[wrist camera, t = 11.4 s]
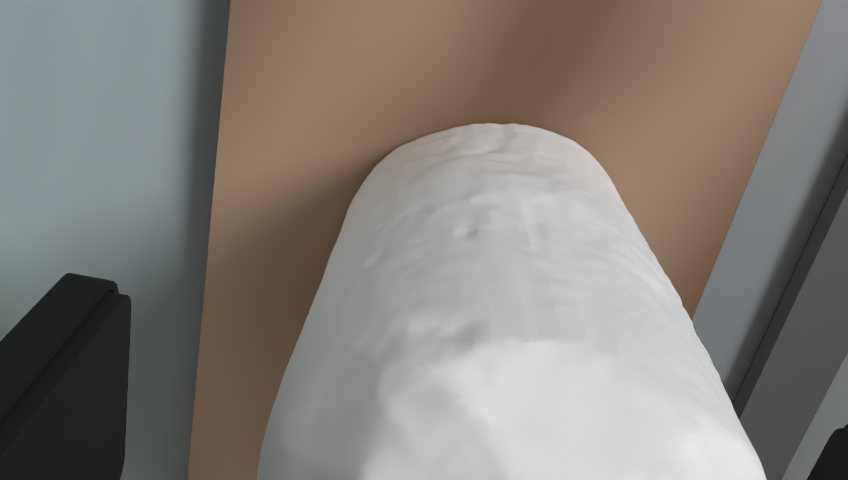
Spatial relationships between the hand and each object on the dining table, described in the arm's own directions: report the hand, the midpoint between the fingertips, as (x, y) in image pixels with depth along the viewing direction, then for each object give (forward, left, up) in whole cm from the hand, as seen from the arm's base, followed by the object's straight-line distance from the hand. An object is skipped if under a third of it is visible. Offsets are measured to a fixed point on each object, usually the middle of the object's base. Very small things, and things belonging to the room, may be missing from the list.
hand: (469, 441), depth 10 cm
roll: (0, 0, -6) cm, 6 cm away
